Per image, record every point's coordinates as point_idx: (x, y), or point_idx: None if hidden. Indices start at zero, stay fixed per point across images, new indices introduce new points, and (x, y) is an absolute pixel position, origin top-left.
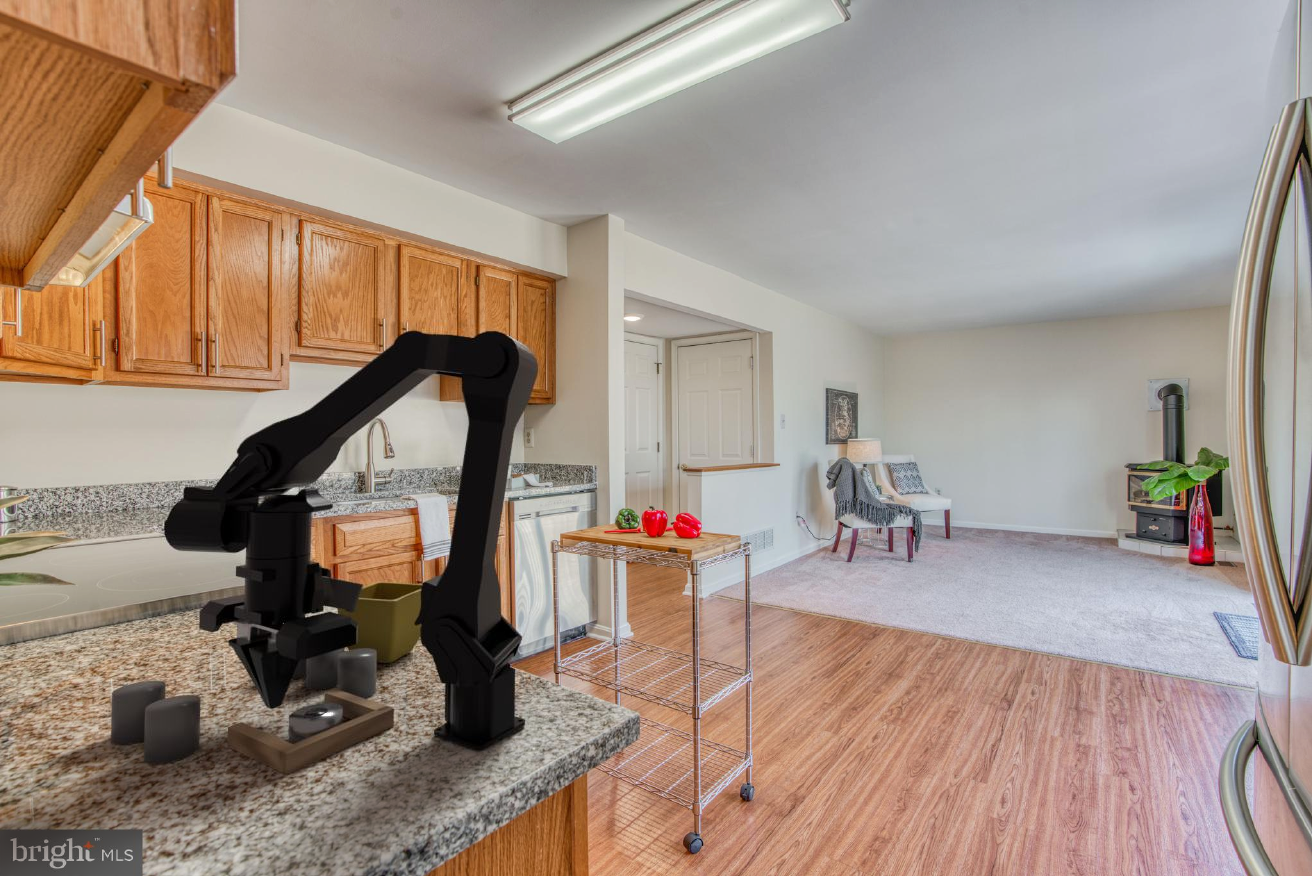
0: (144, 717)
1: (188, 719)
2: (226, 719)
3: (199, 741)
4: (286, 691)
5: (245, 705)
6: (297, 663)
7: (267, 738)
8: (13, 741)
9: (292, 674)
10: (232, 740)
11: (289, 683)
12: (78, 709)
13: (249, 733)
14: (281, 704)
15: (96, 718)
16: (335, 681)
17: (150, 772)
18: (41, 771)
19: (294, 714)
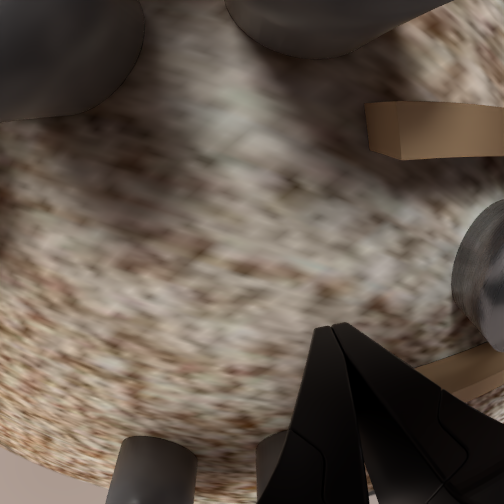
0: (193, 496)
1: None
2: (187, 375)
3: None
4: (380, 346)
5: (106, 317)
6: (492, 421)
7: (497, 380)
8: (93, 484)
9: (439, 390)
10: None
11: (406, 364)
12: (13, 434)
13: None
14: (348, 323)
15: (52, 444)
16: (137, 12)
17: None
18: (214, 500)
19: (500, 338)
